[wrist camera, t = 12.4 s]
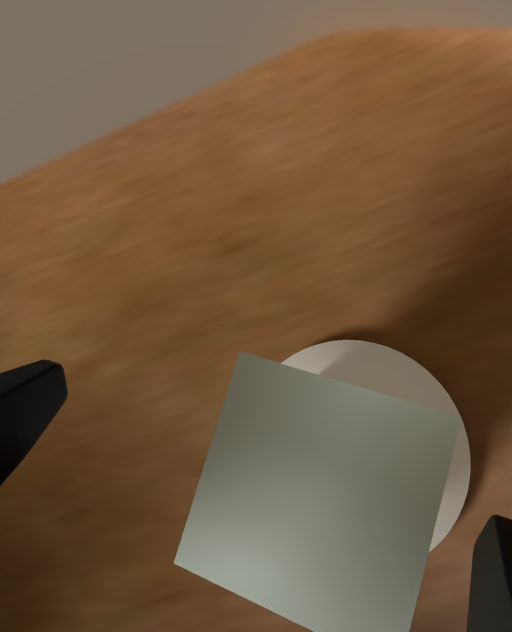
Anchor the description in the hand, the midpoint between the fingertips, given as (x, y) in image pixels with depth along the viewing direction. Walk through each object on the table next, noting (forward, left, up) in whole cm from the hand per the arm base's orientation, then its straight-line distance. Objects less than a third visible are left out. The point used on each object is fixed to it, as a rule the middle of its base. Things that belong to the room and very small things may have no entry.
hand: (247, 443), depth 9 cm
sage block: (-1, 0, -12) cm, 12 cm away
